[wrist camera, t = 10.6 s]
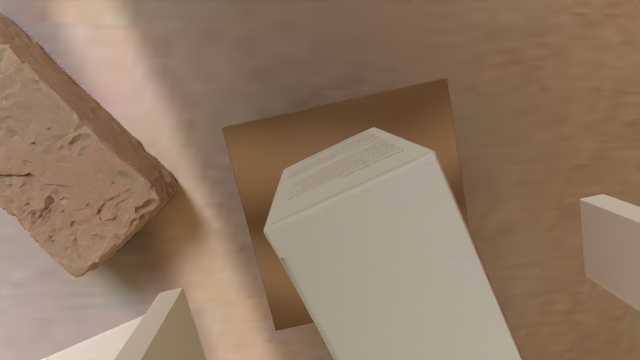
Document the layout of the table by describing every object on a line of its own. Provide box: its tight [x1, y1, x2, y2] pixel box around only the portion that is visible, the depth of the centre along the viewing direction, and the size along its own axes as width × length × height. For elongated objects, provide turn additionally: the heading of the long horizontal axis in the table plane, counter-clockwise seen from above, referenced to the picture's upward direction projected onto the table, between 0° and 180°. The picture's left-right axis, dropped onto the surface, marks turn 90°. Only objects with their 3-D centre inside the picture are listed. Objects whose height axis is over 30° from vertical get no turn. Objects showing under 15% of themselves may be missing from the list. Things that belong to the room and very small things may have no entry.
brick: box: [0, 13, 178, 277], centre depth 27 cm, size 17×8×5 cm, turn 42°
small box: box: [264, 127, 524, 360], centre depth 17 cm, size 8×6×10 cm
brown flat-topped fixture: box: [222, 79, 469, 331], centre depth 26 cm, size 12×12×8 cm
